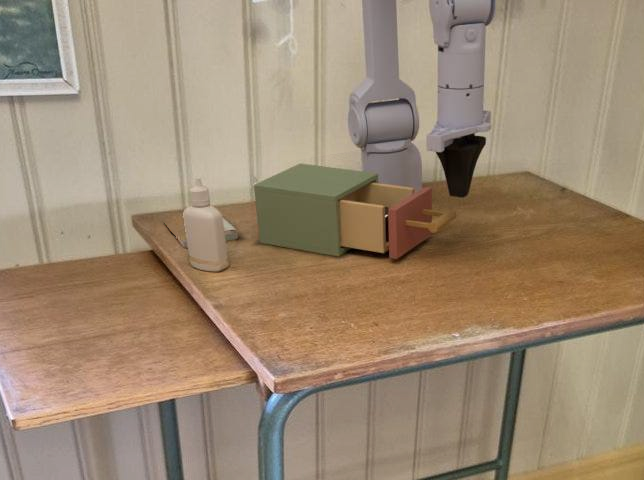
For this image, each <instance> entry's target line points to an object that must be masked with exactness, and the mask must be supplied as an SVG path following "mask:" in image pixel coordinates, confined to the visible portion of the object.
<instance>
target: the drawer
mask: <svg viewBox="0 0 644 480" xmlns="http://www.w3.org/2000/svg"><path fill="white" fill-rule="evenodd" d="M382 205H384V206H382ZM385 207H388V208H389V209H388V223H389V241H388V242H386V227H385ZM338 210H339V228H340V246H344V247H350V248H351V249H356V250H362V251H367V252H375V253H380V254H385V253H386V252H387V251H388V254H389V255H388V257H389V259H395V260H398V259H399V258H400V257H402V256H404V255H405V254H406V253H408V252H409V251H411V250H412V249H414V248H415V247H416V246H418V245H419V244H421V243H422V242H423V241H425V240H427V239H428V238H430V237H431V236H432V235H433V234H435V233H436V232H438V231H440V230H441V229H442V228H444V227H446V226H447V225H448V224H450V223H451V222H452V221H454V220H456V218H457V212H456V210H454V209H448V210H447V211H441V210H434V209H433V187H428V186H423V187H422V189H420V190H419V191H417V192H415V188H410V187H403V186H395V185H388V184H380V183H373V182H370V183H368V184H367V185H365V186H363V187H361V188H359V189H357V190H356V191H354V192H352V193H350V194H348V195H346V196H345V197H343V198H341V199H339V200H338ZM433 217H436V218H435V219H434V220H433Z"/></svg>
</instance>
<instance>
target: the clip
mask: <svg viewBox="0 0 644 480" xmlns="http://www.w3.org/2000/svg"><path fill="white" fill-rule="evenodd" d="M382 206H384V205H382ZM388 209H389V208H388V207H385V227H386V242H388V241H389V223H388Z"/></svg>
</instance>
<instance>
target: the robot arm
mask: <svg viewBox="0 0 644 480" xmlns="http://www.w3.org/2000/svg"><path fill="white" fill-rule="evenodd" d="M361 8H362V22H363V24H362V25H363V41H364V42H363V44H364V59H365V76H366V77H365V78H364V79H363V80H362V81H361V83H360V84H359V85H357V86H356V87H355V88H354V89H353V90H352V91H351V92H350V94H349V99H348V113H347V129H348V134H349V137H350V140H351V142H352V143H353V144H354V145H355V147H356V148H358V149H360V161H361V162H360V164H361V171H363V172H371V173H378V183H380V184H388V185H395V186H403V187H410V188H415V192H417V191H419V190H420V189H422V188H423V160H422V155H421V153H420V150H419V148H418V147H417V146H416V144H414V143H413V142H414V141H415V140H416V138H417V136H418V134H419V130H420V114H419V111H418V107H417V100H416V98H417V97H416V93H415V91H414V89H413V88H412V87H411V86H410V85H408V84H407V83H406V82H405V81H403V80H402V79H401V78H400V64H399V62H400V61H399V37H398V36H399V35H398V13H397V12H398V11H397V10H398V9H397V0H361ZM496 8H497V0H428V9H429V16H430V19H431V24H432V27H433V28H432V29H433V30H432V31H433V34H432V37H433V38H432V39H433V41H434V44H435V45H437V120H436V122H435V123H434V125H433V127H432V129H431V131H430V132H429V133H427V134H426V151H427V152H435V154H436V156H437V157H438V160H439V161H440V164H441V167H442V170H443V173H444V177H445V182H446V186H447V189H448V194H449V196H450V197H455V198H462V199H464V198H466V197H467V196H468V195H469V192H470V189H471V185H472V181H473V177H474V173H475V169H476V166H477V164H478V161H479V158H480V155H481V153H482V152H483V149H484V148H485V146H486V144H487V137H486V136H483V135H476V133H487V132H489V131H490V130H492V123H491V121H492V119H491V118H492V111H491V110H485V109H484V99H485V98H484V97H485V95H484V94H485V70H486V69H485V67H486V66H485V64H486V63H485V62H486V37H487V34H486V32H487V26H489V25H490V24H491V23H492V21H493V20H494V18H495V13H496Z"/></svg>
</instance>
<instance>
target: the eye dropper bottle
mask: <svg viewBox="0 0 644 480" xmlns="http://www.w3.org/2000/svg"><path fill="white" fill-rule="evenodd" d="M193 181H194V182H193V183H194V184H193V186H192V187H191V188H189V196H190V203H191V205H190V206H187V207H186V208H185V209H184V210H183V211H184V212H183V218H184V226H185V232H186V239H187V246H188V248H187V253H188V256H189V255H190V256H192V257H194V258H197V259H201V260H204V261H211V262H221V261H223V260H225V259H227V258H228V259H229V255H228V248H227V241H226V239H225V232H224V225H223V218H222V216H223V215H222V213H221V211H220V210H219V209H218V208H216V207H215V206H213V205H212V204H211V199H210V192H209V191H210V190H209V188H208V187H207V186H206V185H203V182H202V180H201V178H200V177H199V176H197V177H194V180H193ZM189 264H190V265H191V266H192V268H195V269H197V270H200V271H204V272H210V273H211V272H213V273H214V272H216V273H217V272H218V273H219V272H221V271H224V270H225V269H227V268H228V267H229V261H228V262H226V263H224V264H222V265H218V266H213V265H204V264H199V263H196V262H193V261H191V260H190V259H189Z"/></svg>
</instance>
